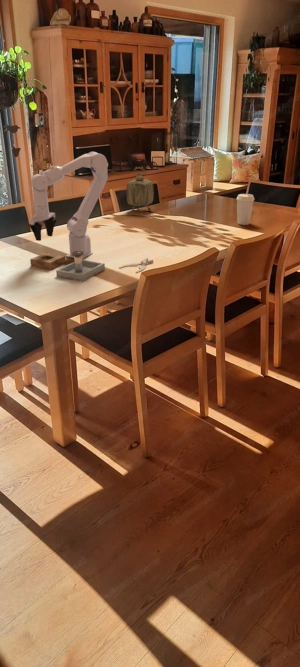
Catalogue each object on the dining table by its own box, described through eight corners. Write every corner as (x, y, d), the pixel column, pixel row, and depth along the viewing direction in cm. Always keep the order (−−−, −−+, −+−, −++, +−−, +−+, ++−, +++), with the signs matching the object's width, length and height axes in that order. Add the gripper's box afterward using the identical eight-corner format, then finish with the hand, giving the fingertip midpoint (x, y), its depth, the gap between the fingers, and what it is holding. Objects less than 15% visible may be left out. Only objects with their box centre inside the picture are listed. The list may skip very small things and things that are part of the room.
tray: (80, 264, 207) (80, 259, 206) (104, 269, 202) (104, 263, 201) (56, 276, 194) (56, 270, 193) (82, 281, 189) (81, 275, 188)
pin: (76, 269, 201) (75, 250, 198) (86, 270, 200) (85, 251, 196) (71, 272, 197) (69, 253, 194) (81, 273, 196) (80, 254, 192)
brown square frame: (46, 259, 213) (45, 252, 212) (65, 263, 209) (64, 256, 208) (30, 266, 205) (30, 259, 204) (50, 270, 201) (49, 262, 200)
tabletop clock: (153, 210, 300) (153, 167, 289) (147, 213, 292) (147, 169, 281) (131, 208, 305) (131, 165, 294) (125, 211, 298) (124, 167, 287)
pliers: (118, 265, 203) (141, 256, 214) (118, 269, 204) (141, 260, 214) (137, 270, 198) (159, 260, 208) (137, 273, 198) (159, 264, 209)
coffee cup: (248, 226, 266) (250, 197, 259) (231, 224, 270) (233, 195, 264) (254, 222, 273) (257, 194, 267) (238, 220, 278) (240, 192, 271)
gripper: (44, 201, 211) (47, 232, 217) (21, 207, 199) (25, 241, 205) (58, 202, 208) (60, 235, 214) (35, 209, 196) (38, 243, 202)
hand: (44, 238), depth 209 cm, fingers open, 7 cm apart
